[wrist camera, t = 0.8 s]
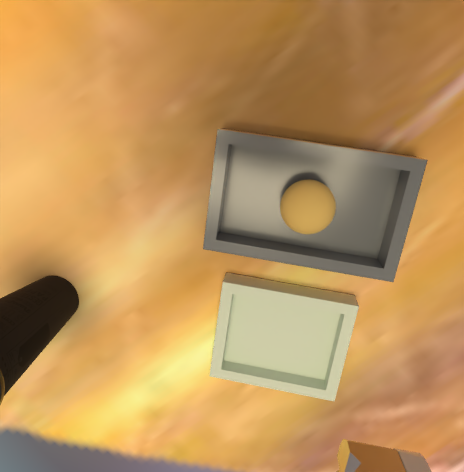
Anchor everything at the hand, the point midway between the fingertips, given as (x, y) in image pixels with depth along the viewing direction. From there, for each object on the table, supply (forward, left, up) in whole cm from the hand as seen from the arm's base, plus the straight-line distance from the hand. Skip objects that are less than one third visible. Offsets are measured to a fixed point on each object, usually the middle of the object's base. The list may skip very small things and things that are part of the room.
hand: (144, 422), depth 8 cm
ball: (0, +5, -28) cm, 28 cm away
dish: (0, +5, -28) cm, 29 cm away
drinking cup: (+14, -18, -28) cm, 37 cm away
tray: (+13, +5, -28) cm, 31 cm away
